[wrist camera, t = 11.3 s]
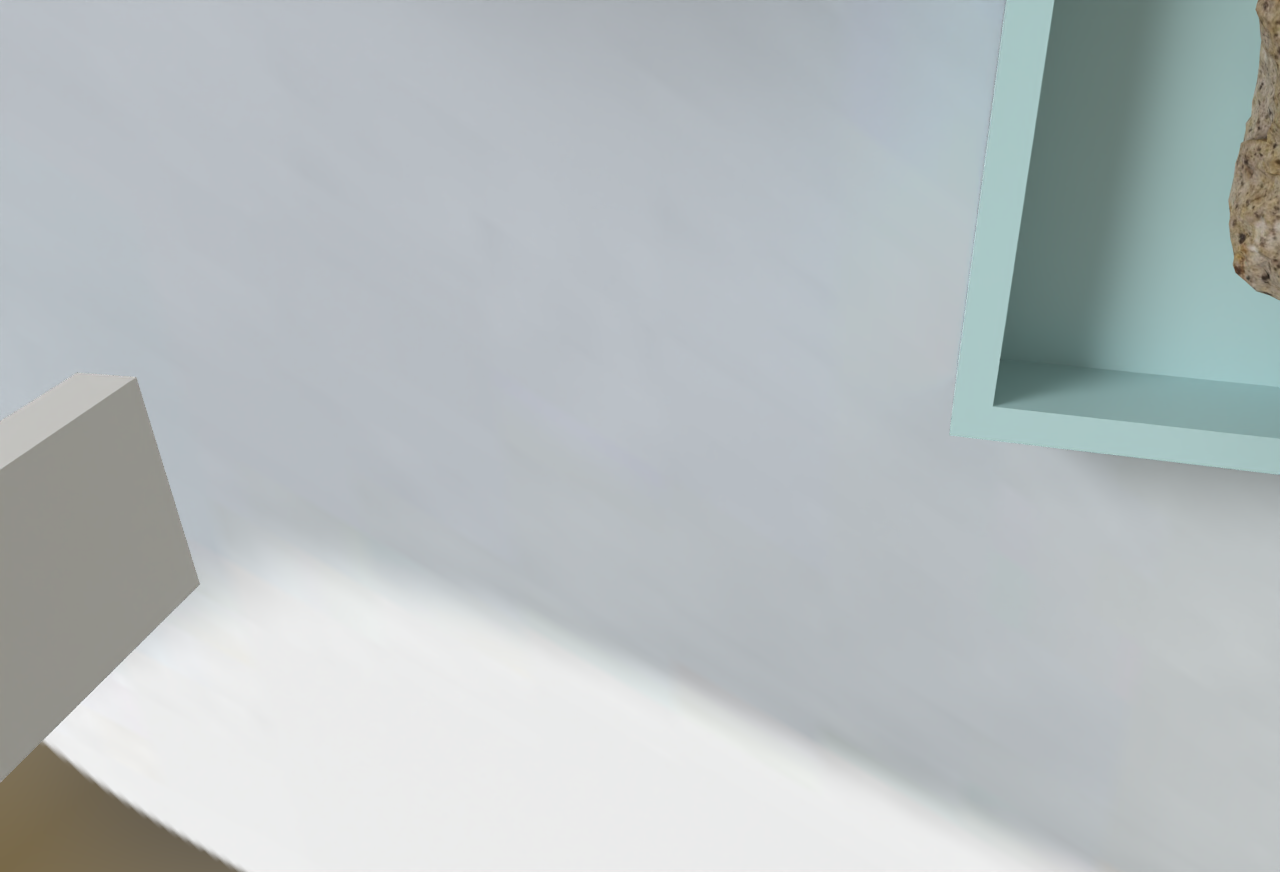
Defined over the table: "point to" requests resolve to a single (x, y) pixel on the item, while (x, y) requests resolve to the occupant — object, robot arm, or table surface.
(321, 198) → the table surface
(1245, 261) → the rock
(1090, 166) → the tray
